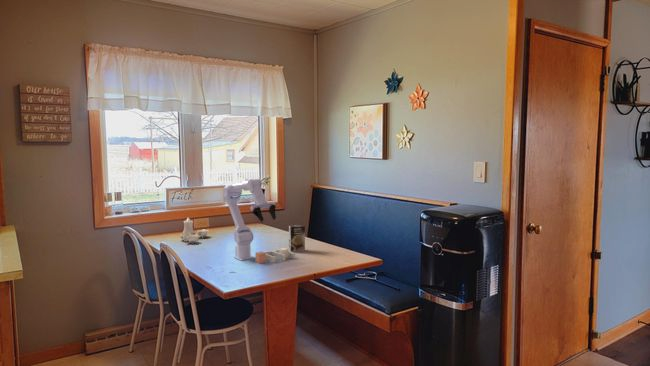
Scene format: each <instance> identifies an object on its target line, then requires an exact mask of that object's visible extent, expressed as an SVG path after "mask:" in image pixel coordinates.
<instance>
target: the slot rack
mask: <svg viewBox="0 0 650 366" xmlns="http://www.w3.org/2000/svg"><path fill="white" fill-rule="evenodd" d="M279 249H280V248H278V249H274V250H268V251H264V252H265V257H266V261H268V262H270V263H272V264H278V263H284V262H289V261H294V260H297V258H296V252H290V251H289V258H286V256H285V255H283V254H281V253H279Z"/></svg>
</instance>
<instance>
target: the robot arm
mask: <svg viewBox="0 0 650 366" xmlns="http://www.w3.org/2000/svg"><path fill="white" fill-rule="evenodd" d="M243 191H245V192H247V191H249V192H250V193H251V195H252V197H253V200H254V201H255V204H254V205H251V206H250V207H249V209H250V211H252V214H253V215H254V216H256V217H257V219H258V220H259V221H260V222H261V223H263V221H264V216H263V214H262V211H261V210H264V209H268V213H269V215H270V216H271V219H272V220H273V221H275V220H276V219H277V217H276V207H277V205H276V203H275V202H268V201H267V199H266V196H265V194H264V192H263V190H262V181H261V180H260V179H259V178H256V179H255V178H254V179H253V178H249V179H248V178H247V179H244V180H243V181H242V182H241V183H235V184H234V183H233V184H230V185H226V186H224V188H223V190H222V195H223V197H224V200H225V202H226V203H227V205H228V209H229V211H230V214H231V217H232V219H233V222H234V225H235V228H236V229H235V230H234V232H233V239H234V243H236V244H235V249H234V250H235V252H234V253H235V254H234V259H237V260H239V261H245V260H248V259H253V257H252V256H251V255H252V254H251V252H252V251H251V250H252V247H251V244H252V242H253V240H254V238H255V237H254V233H253V232H252V230H251V228H250V227H248V226H246V225H245V221H244V218H243V217H242V216H243V215H242V214H241V210H240V207H239V205H238V202H239V201H240V200H241V196H242V194H243Z"/></svg>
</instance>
